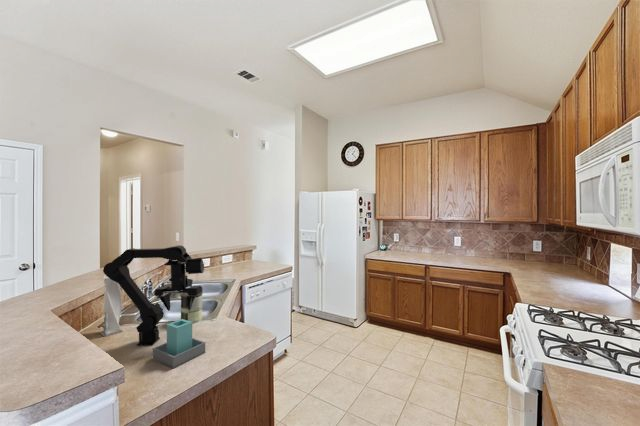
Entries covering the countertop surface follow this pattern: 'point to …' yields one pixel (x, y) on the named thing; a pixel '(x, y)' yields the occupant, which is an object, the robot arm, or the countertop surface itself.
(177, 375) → the countertop surface
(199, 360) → the countertop surface
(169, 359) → the gray square tray
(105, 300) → the skyscraper
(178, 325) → the teal square planter
